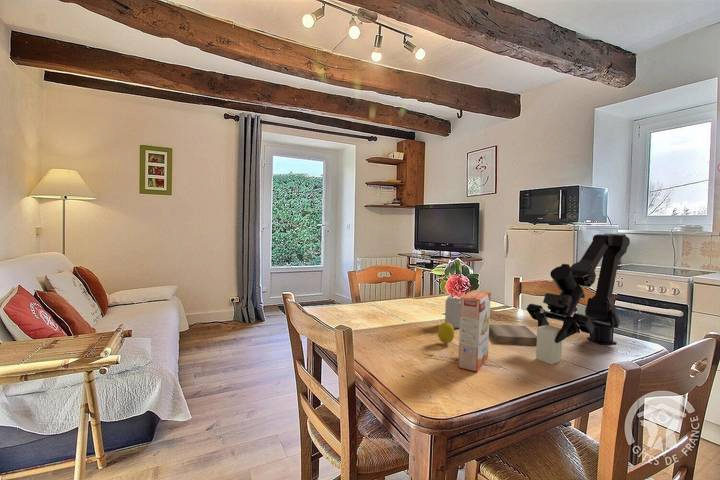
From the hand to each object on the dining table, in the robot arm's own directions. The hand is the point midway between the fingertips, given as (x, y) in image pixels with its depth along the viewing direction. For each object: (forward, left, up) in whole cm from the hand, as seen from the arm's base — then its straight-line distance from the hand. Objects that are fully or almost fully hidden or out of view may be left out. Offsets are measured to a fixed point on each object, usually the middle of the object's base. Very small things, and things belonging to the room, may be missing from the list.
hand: (546, 339), depth 107 cm
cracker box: (+23, -1, -7) cm, 24 cm away
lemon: (+26, -17, -7) cm, 31 cm away
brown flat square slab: (-1, -22, -7) cm, 23 cm away
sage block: (-1, -1, -7) cm, 7 cm away
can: (+15, -37, -7) cm, 40 cm away
